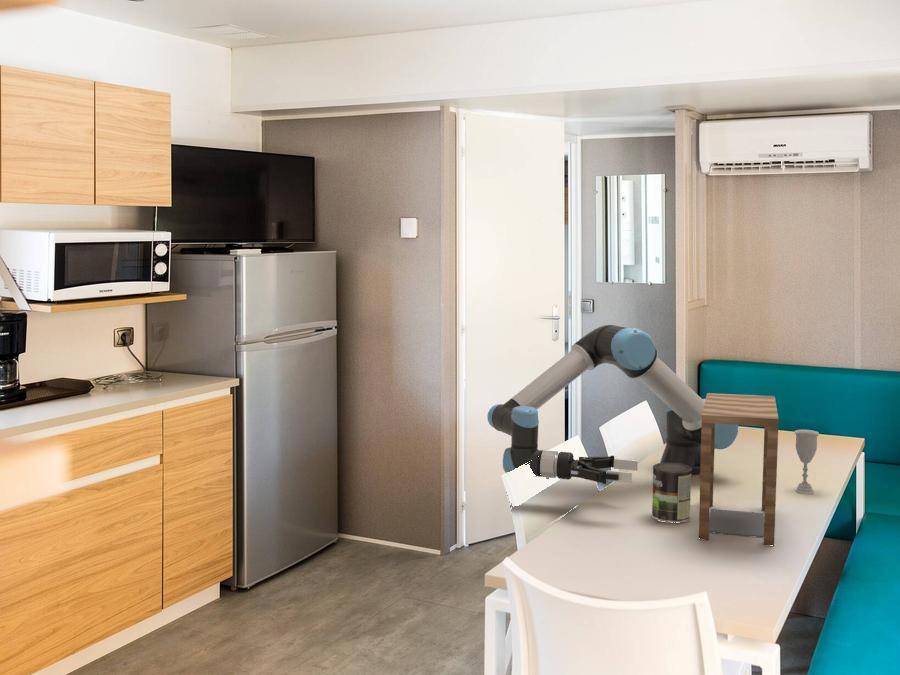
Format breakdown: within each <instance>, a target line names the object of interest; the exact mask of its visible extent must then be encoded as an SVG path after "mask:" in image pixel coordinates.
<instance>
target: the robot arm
mask: <svg viewBox="0 0 900 675" xmlns="http://www.w3.org/2000/svg"><path fill="white" fill-rule="evenodd" d="M570 348H571V349H570V351H569V352H567V353H566V354H565V355H563V357H561V358H560V359H559V360H557V362H555V363H554V364H553V365H551V366H550V367H549V368H548V369H546V370H545V371H543V373H541V374H540V375H539V376H537V377H536V378H535V379H533V380H532V381H531V382H529V384H528V385H526V386H525V387H523V388H522V389H521V390H520V391H518V392H517V393H516V394H514V396H512V397H511V398H510V399H509V400H507V401H505V403H503V404H501V403H497V404H495V405H492V407H491V408H489V411H488V412H487V415H486V416H487V421H488V424H489V425H490V426H491V427H492V428H493V429H495V430H496V431H498V432H502V433H504V434H506V435H508V436H510V438H511V439H510V440H511V441H510V442H511V444H510V445H511V446H510V447H507V448H505V449H504V451H503V454H502V468H503V471H504V472H505V473H506V474H508V473H507V472H510V471H512V470H514V469H515V468H518V467H519V466H521V465H523V464H525V463H527V462H528V463H527V464H529V463H530V464H529V465H530V468H531V469H532V471H533V473H534V474H535V475H536V476H535V477H537V476H538V477H541V478H545V479H546V480H550V479H556V478H558V480H571V479H572V477H573V478H577V479H578V478H579V479H582V480H583V479H584V480H587V481H592V482H595V483H601V484H602V485H604V484H605V485H606V484H607V482H617V483H618V482H619V483H629V484H632V482H633V481H632V478H633V476H632V475H633V472H631V471H636V472H637V471H638V463H639V462H638V460H636V459H635V460H633V459H622V458H615V455H610V456H588V457H587V456H579V457H578V459H574V453H572V452H567V451H560V452H558V450H557V451H556V450H546V449H543V450H542V449H541V450H540V449H539V444H538V442H539V423H540V422H539V410H538V409H540V408H541V407H542V406H543V405H545V404H546V403H547V402H549V401H550V400H551V399H552V398H554V397H555V396H556V395H558V393H560V392H561V391H562V390H564V389H565V388H566V387H568V386H569V385H570V384H571V383H572V382H573V381H575V380H576V379H578V378H579V377H580V376H581V375H582V374H584V373H585V372H586V371H588V370H589V371H592V370H594V369H595V368H596V367H598V366H600V365H603V364H609V365H613V366H616V367H617V369H619V370H620V371H621V372H623V373H624V374H625V375H626V376H627V377H628V378H630V379H638V380H639V381H640V382H641V383H643V385H644V386H645V387H647V389H649V390H650V391H651V392H652V393H653V394H654V395H656V397H657V398H659V399H660V400H661V401H662V402H663V403H664V404H665V405H667V407H666V412H665V413H666V425H665V426H666V428H665V430H666V434H665V448H664V449H663V452H662V456H661V458H660V462H659V463H680V464H685V465H688V466H690V467H691V468H692V472H691V476H692V475H700V466H701V428H702V412H703V408H704V404H705V400H706V398H701V396H699V395H698V393H696V392H695V391H694V390H693V389H692V388H691V387H690V386H689V385H688V384H686V382H685V381H683V380H682V378H680V376H678V375H677V374H676V372H674V371H673V370H672V369H670V367H668V365H667V364H665V362H663V360H661V359H660V358H659V357H658V356H659V352H658V349H657V348H656V347H655V342H654V340H653V338H652V337H651V335H650V334H648V333H647V332H646V331H643V330H641V329H639V328H635V327H625V326H619V325H613V324H606V325H602V326H599V327H597V328H595V329H593V330H591V331H590V332H589V333H587V334H585V335H584V336H582V337H581V338H580V339H578V340H577V341H576V342H575V343H573V344H572V345H571V347H570ZM738 429H739V425H732V424H715V446H714V450H725V449H728V448H730V447H731V445H732V444H734V442H735V440H736V439H737V437H738V432H739V430H738ZM538 456H539V457H538ZM531 460H532V461H531ZM529 461H530V462H529ZM527 464H525V465H527ZM609 468H613V470H611V469H610V470H609ZM602 469H603V470H602ZM604 469H608V470H607V471H606V470H604ZM615 469H616V470H615ZM620 470H624V471H620ZM625 470H626V471H625ZM540 474H541V475H540Z"/></svg>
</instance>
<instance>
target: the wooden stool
mask: <svg viewBox="0 0 900 675" xmlns="http://www.w3.org/2000/svg"><path fill="white" fill-rule="evenodd" d="M705 399H706V400H705V404H704V408H703V412H702V428H701V466H700V474H699V477H700V478H699V479H700V480H699V505H698V506H699V507H698V508H699V514H698V515H699V516H698V539H699V538H700V539H699V540H701V539H710V538H709V537H710V533H709V518H710V510H711V507H714V482H715V481H714V476H715V449H714V446H715V424H732V425H738V426H752V427H753V426H754V427H764V430H763V458H762V460H763V461H762V488H761V489H762V490H761V491H762V492H761V494H762V495H761V511H763V512H764V538H763V546H764V545H773V546H772V547H775V535H776V534H775V531H776V529H775V528H776V507H777V506H776V504H777V503H776V501H777V500H776V499H777V474H778V473H777V472H778V469H777V468H778V449H779V420H780V419H779V414H778V408H777V402H776V397H775V395H756V394H729V393H715V392H714V393H712V392H709V393H706V396H705Z"/></svg>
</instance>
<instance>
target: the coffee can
mask: <svg viewBox="0 0 900 675" xmlns="http://www.w3.org/2000/svg"><path fill="white" fill-rule="evenodd" d="M691 472H692V468H691V467H690V466H688V465H685V464H680V463H660V462H658V463H655V464H654V465H652V503H651V504H652V508H651V512H652V513H651V518H652V517H653V518H652V519H654V520H655V519H657V520H660V521H659V522H661V521H665V522H673V523H672V524H677V523H676V522H684V523H687V522H689V521H690V519H691V495H692V494H691V491H692V490H691V488H692V475H691ZM657 520H656V521H657ZM688 520H689V521H688ZM686 521H687V522H686ZM665 522H664V523H665ZM674 522H675V523H674Z"/></svg>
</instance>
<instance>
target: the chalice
mask: <svg viewBox="0 0 900 675" xmlns="http://www.w3.org/2000/svg"><path fill="white" fill-rule="evenodd" d="M794 434H795V436H796V437H795V450H796V453H797V455H798V458H799V460H800V462H802V463H803V468H802V472H803V473H802V474H801V476H802V477H803V480H802V482H799V483H798V484H797V487H796V489H795V492H796V491H797V492H796V493H798V492H799V493H798V494H803V493H805V494H806V495H810V493H812V494H814V490H813V487H812V485H811V484H810V483H809V482H808V479H807V478H808V477H809V475H808V470H809V468H808V464H809V463H811V462H812V460H813V458H814V457H815V455H816V452H817V449H818V448H817V447H818V437H819V434H820V433H819V431H816V430H812V429H811V430H810V429H797V430H794ZM805 494H804V495H805Z"/></svg>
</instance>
